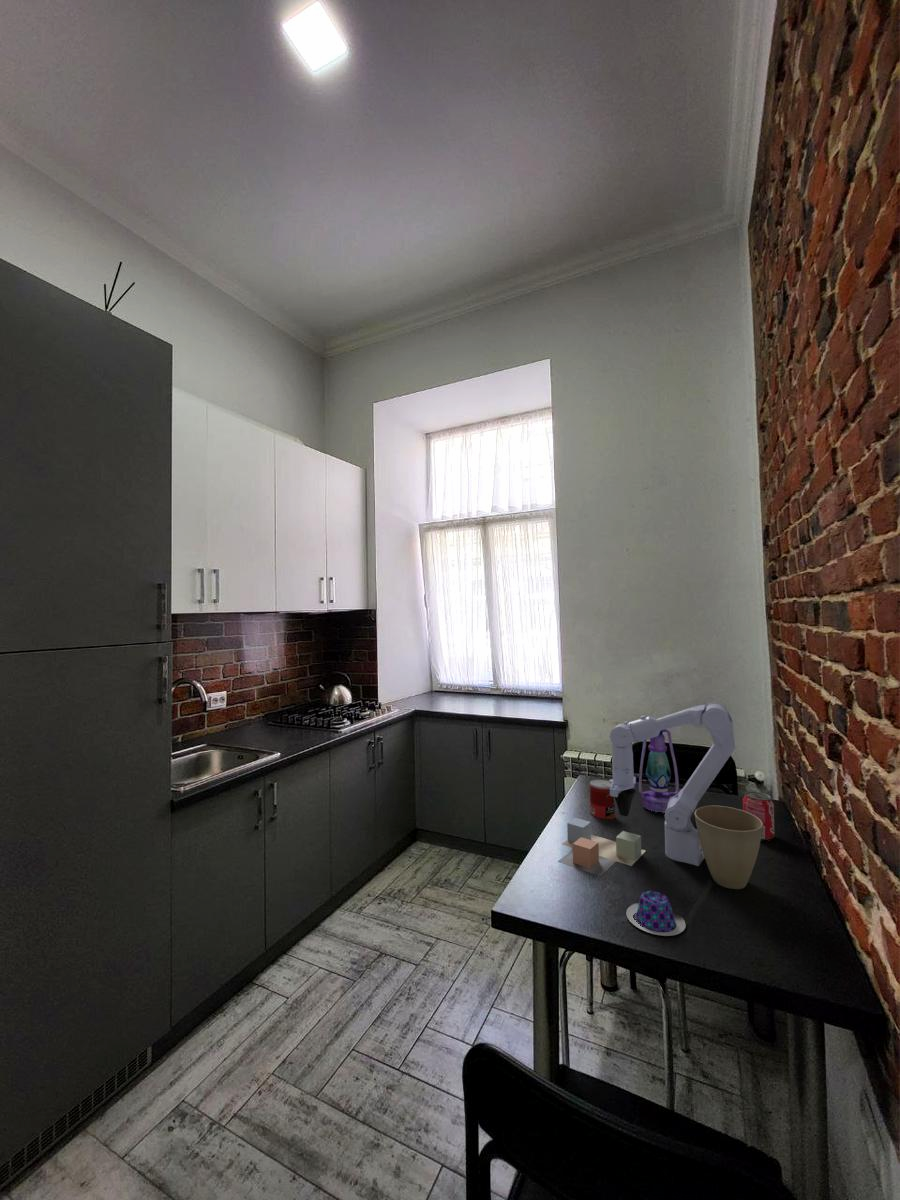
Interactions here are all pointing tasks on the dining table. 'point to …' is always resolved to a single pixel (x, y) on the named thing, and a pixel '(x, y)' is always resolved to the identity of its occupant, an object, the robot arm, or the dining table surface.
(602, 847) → the board
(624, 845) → the sage block
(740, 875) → the plant pot
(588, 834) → the blue block
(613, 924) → the dining table surface
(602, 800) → the canned food
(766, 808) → the beverage can
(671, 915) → the patterned fedora hat
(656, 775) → the lantern
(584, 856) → the terracotta block
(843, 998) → the dining table surface
